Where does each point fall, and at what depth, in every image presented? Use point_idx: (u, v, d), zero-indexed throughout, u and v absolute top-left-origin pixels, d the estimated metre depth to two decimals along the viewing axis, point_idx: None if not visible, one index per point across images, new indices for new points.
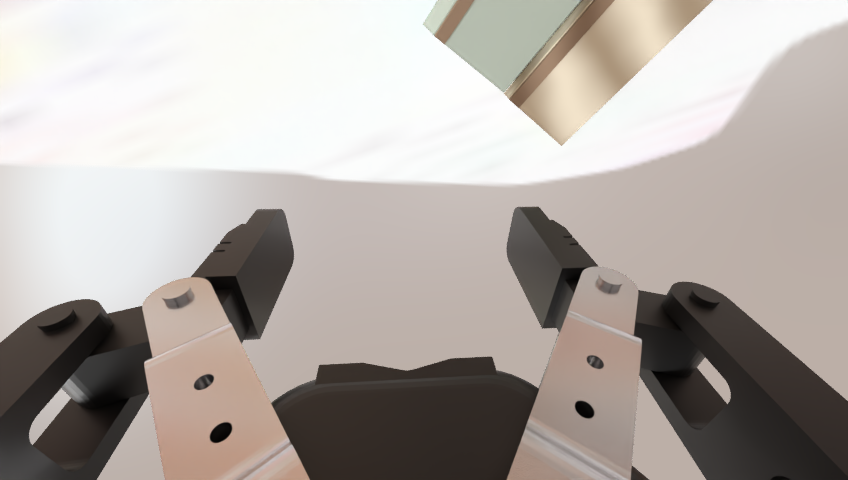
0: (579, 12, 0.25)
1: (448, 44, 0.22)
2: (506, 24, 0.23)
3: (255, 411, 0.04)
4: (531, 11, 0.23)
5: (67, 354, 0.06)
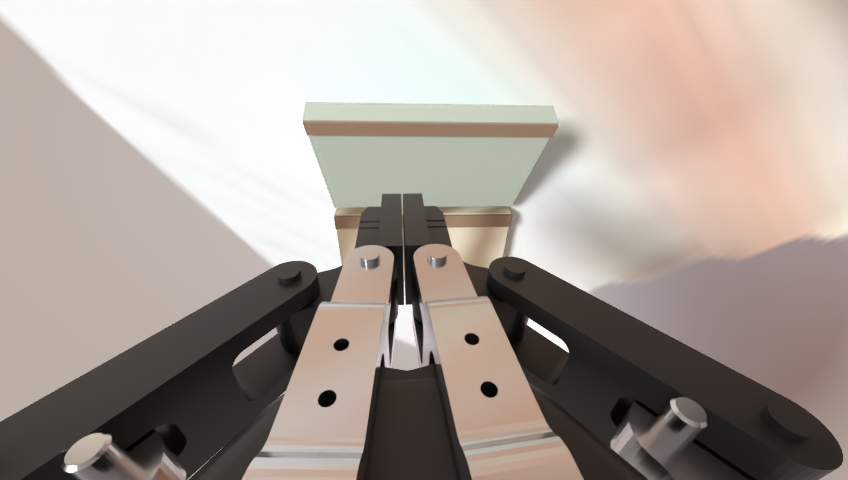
0: None
1: (311, 138, 0.20)
2: (369, 172, 0.24)
3: (356, 399, 0.04)
4: (392, 182, 0.25)
5: (279, 310, 0.07)
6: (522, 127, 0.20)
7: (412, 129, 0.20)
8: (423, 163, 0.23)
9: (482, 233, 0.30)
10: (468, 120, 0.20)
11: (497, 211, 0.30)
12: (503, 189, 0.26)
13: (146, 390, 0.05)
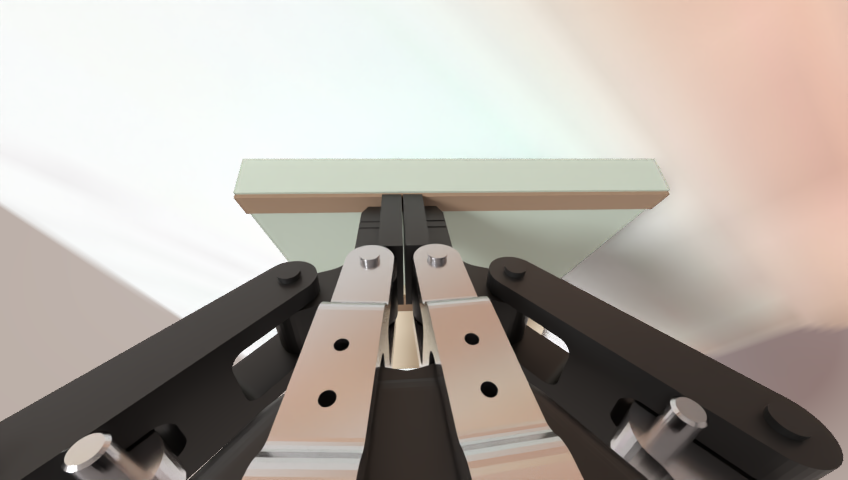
0: None
1: (255, 216, 0.12)
2: None
3: (356, 400, 0.04)
4: None
5: (278, 309, 0.07)
6: (609, 198, 0.12)
7: (424, 203, 0.12)
8: None
9: None
10: (520, 188, 0.12)
11: None
12: (552, 265, 0.18)
13: (146, 390, 0.05)
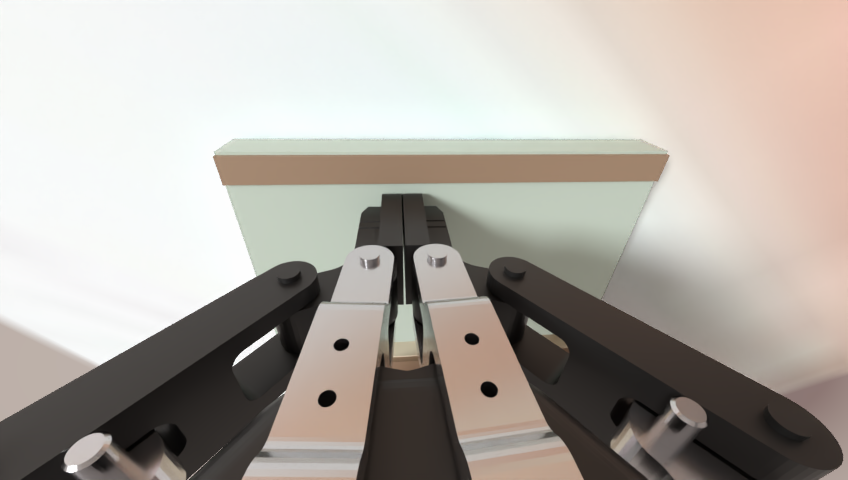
0: None
1: (232, 194, 0.11)
2: None
3: (356, 400, 0.04)
4: None
5: (279, 309, 0.07)
6: (608, 161, 0.12)
7: (414, 168, 0.11)
8: None
9: None
10: (513, 151, 0.11)
11: (558, 342, 0.18)
12: None
13: (146, 390, 0.05)
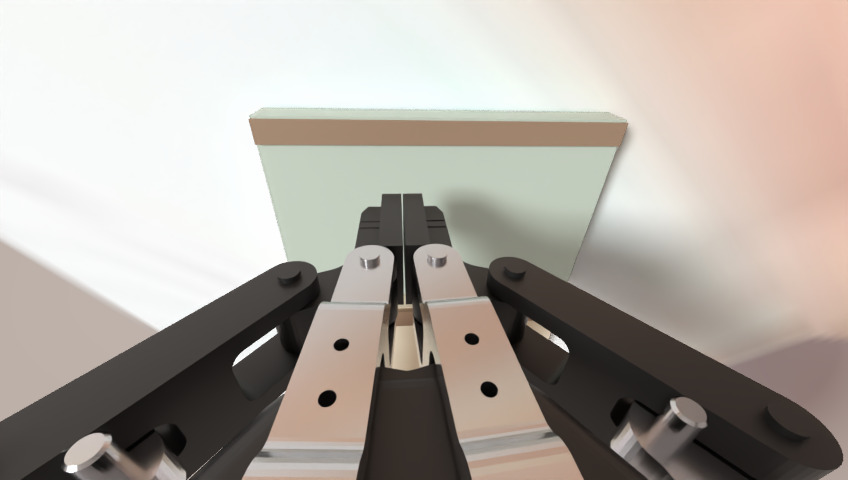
0: None
1: (262, 153, 0.13)
2: (351, 221, 0.16)
3: (356, 399, 0.04)
4: None
5: (279, 310, 0.07)
6: (577, 127, 0.14)
7: (414, 131, 0.13)
8: (431, 203, 0.15)
9: None
10: (497, 118, 0.14)
11: None
12: (551, 253, 0.18)
13: (146, 390, 0.05)
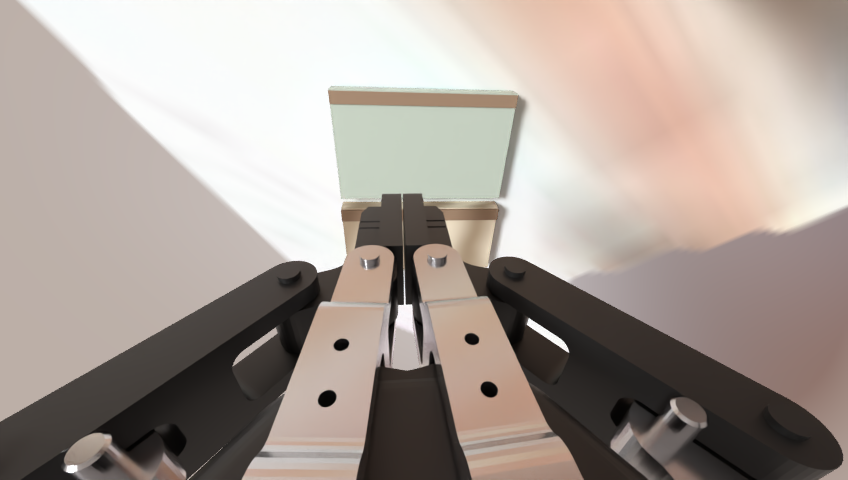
0: None
1: (332, 109, 0.27)
2: (374, 149, 0.29)
3: (356, 400, 0.04)
4: (393, 163, 0.30)
5: (279, 310, 0.07)
6: (492, 97, 0.27)
7: (409, 98, 0.27)
8: (418, 139, 0.29)
9: (472, 225, 0.34)
10: (451, 92, 0.27)
11: (485, 206, 0.33)
12: (487, 173, 0.31)
13: (146, 390, 0.05)
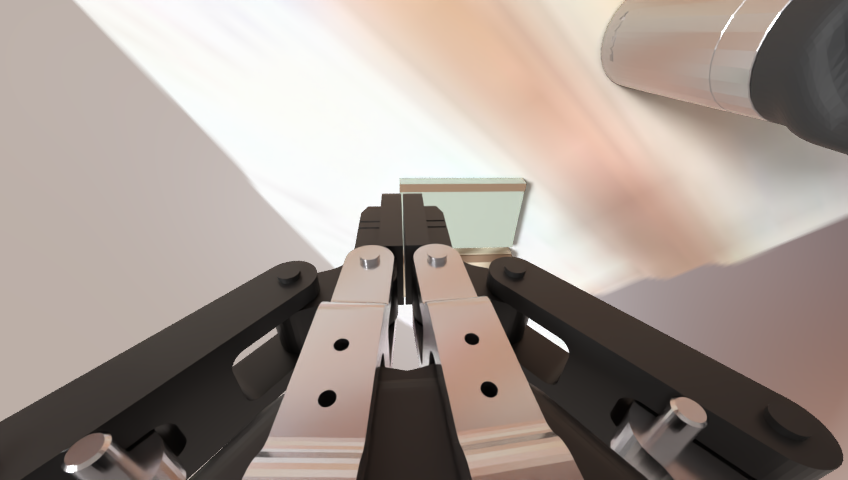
0: None
1: None
2: None
3: (356, 400, 0.04)
4: None
5: (279, 310, 0.07)
6: (508, 185, 0.40)
7: (452, 187, 0.39)
8: (457, 211, 0.41)
9: None
10: (480, 182, 0.40)
11: (502, 251, 0.46)
12: (504, 231, 0.44)
13: (146, 390, 0.05)
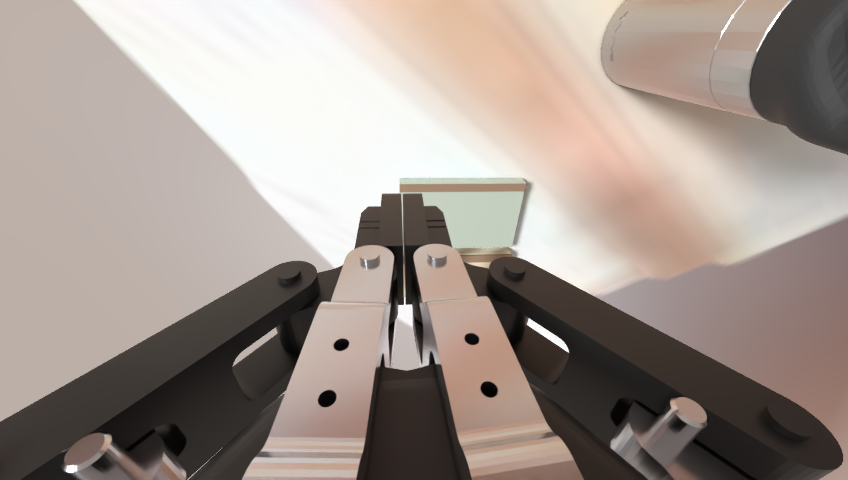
0: None
1: None
2: None
3: (356, 400, 0.04)
4: None
5: (279, 309, 0.07)
6: (508, 185, 0.40)
7: (452, 187, 0.39)
8: (457, 211, 0.41)
9: None
10: (480, 182, 0.40)
11: (502, 251, 0.46)
12: (504, 231, 0.44)
13: (146, 390, 0.05)
